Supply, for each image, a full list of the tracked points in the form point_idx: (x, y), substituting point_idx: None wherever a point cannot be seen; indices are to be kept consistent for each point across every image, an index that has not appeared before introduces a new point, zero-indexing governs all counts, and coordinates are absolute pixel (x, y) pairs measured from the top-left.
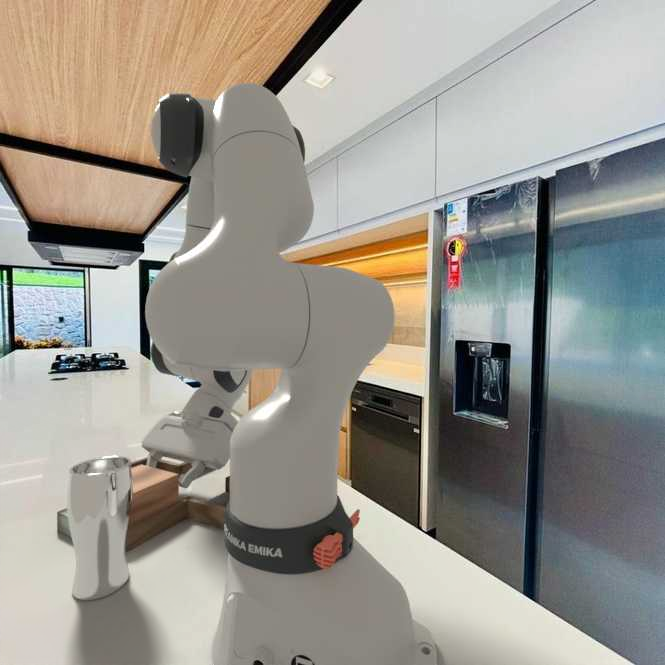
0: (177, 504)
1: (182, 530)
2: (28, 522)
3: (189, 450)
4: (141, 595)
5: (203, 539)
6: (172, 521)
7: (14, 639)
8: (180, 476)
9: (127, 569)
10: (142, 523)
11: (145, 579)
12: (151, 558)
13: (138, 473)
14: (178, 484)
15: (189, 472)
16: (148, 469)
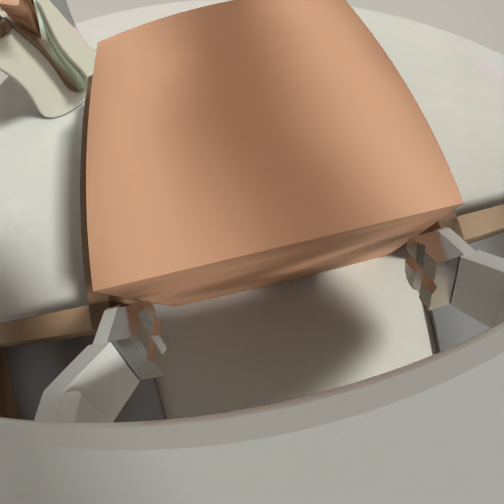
0: (87, 256)
1: (75, 256)
2: (424, 42)
3: (100, 465)
4: (9, 128)
5: (17, 270)
6: None
7: (80, 25)
8: (135, 324)
9: (37, 107)
10: (84, 132)
11: (23, 137)
12: (50, 158)
13: (311, 124)
14: (122, 296)
15: (80, 357)
16: (337, 189)
